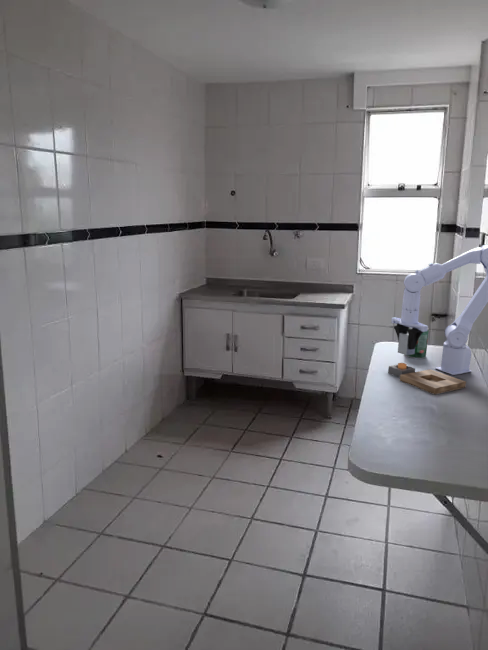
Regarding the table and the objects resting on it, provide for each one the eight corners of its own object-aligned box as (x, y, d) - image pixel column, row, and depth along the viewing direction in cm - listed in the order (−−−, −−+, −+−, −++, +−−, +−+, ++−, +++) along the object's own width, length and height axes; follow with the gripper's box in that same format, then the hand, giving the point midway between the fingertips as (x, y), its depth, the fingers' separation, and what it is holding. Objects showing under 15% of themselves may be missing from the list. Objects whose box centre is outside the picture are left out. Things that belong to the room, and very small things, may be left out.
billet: (405, 351, 195) (407, 331, 193) (414, 353, 191) (416, 334, 190) (397, 352, 193) (399, 332, 191) (406, 355, 189) (408, 335, 188)
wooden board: (429, 375, 184) (430, 369, 184) (465, 387, 172) (466, 381, 172) (399, 380, 177) (400, 374, 177) (434, 394, 165) (435, 388, 165)
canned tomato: (429, 356, 207) (432, 327, 205) (419, 360, 202) (423, 330, 199) (410, 351, 212) (413, 323, 210) (400, 355, 207) (403, 326, 204)
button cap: (401, 369, 185) (402, 362, 185) (407, 371, 183) (408, 364, 182) (395, 370, 184) (396, 363, 183) (401, 372, 181) (402, 365, 181)
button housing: (400, 370, 188) (401, 363, 187) (414, 375, 183) (415, 368, 182) (388, 373, 184) (388, 366, 184) (401, 378, 179) (402, 371, 179)
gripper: (386, 306, 193) (383, 343, 196) (418, 313, 181) (414, 354, 184) (400, 304, 196) (397, 341, 199) (433, 312, 184) (429, 351, 187)
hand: (406, 347), depth 192 cm, fingers closed on billet, 4 cm apart
